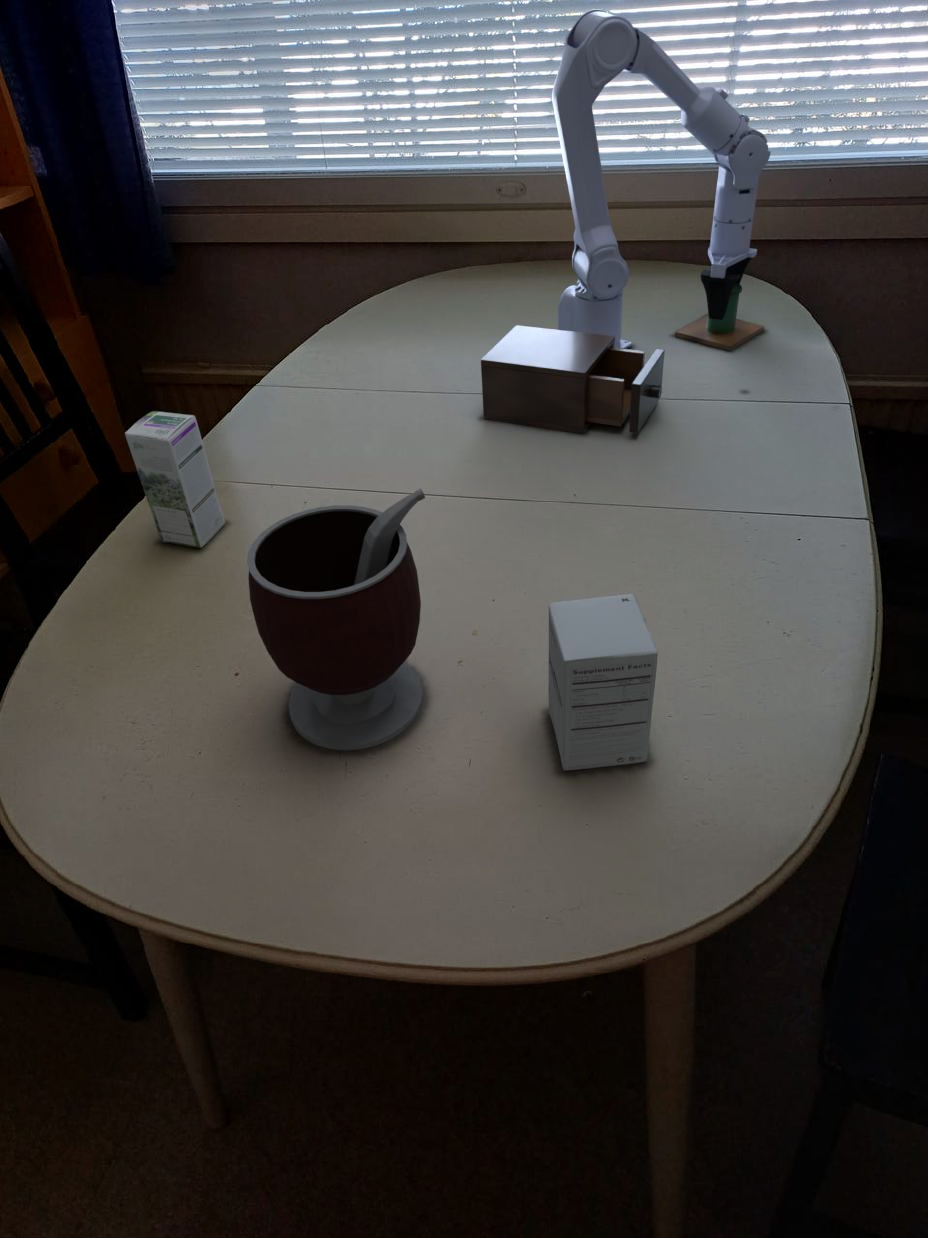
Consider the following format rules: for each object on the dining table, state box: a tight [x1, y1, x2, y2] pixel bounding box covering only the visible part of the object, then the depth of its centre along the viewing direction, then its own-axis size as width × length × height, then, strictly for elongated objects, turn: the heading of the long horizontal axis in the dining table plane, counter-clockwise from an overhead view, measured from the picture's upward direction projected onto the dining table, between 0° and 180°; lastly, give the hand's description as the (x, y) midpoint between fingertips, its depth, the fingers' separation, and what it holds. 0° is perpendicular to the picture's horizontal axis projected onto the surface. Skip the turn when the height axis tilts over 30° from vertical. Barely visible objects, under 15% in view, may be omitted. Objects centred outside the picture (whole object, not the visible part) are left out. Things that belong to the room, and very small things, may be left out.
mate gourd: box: [246, 488, 426, 751], centre depth 77 cm, size 16×14×20 cm
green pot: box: [706, 283, 743, 334], centre depth 140 cm, size 5×5×6 cm
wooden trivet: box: [674, 313, 765, 352], centre depth 143 cm, size 10×10×1 cm
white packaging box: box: [548, 593, 659, 771], centre depth 73 cm, size 7×7×13 cm
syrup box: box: [124, 410, 226, 549], centre depth 102 cm, size 6×6×14 cm
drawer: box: [586, 347, 666, 434], centre depth 121 cm, size 15×11×7 cm
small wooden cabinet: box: [480, 324, 615, 435], centre depth 124 cm, size 15×13×9 cm
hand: (721, 309), depth 140 cm, fingers open, 7 cm apart
